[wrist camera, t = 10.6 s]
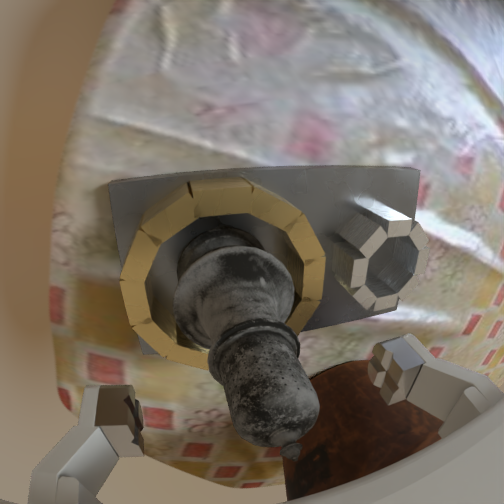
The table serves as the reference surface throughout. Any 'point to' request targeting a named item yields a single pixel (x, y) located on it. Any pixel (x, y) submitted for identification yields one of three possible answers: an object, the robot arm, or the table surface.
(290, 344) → the stone chess piece
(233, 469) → the table surface
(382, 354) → the robot arm
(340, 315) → the socket plate
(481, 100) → the table surface
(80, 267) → the table surface
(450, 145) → the table surface
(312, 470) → the case
